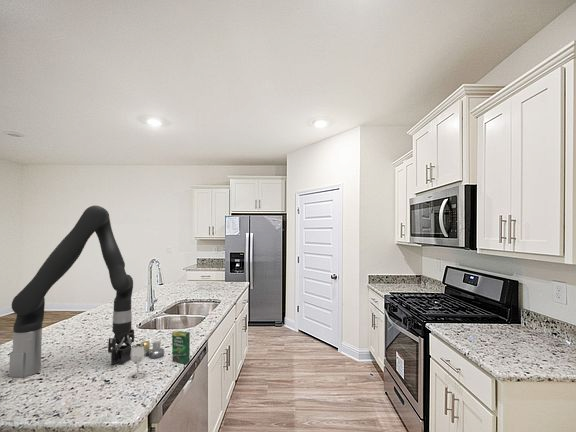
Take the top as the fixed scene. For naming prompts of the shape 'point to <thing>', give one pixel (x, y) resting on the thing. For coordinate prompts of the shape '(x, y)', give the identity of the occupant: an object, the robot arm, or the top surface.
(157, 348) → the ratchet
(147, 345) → the socket
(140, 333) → the top surface
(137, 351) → the wineglass
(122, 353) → the socket
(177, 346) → the coffee box
